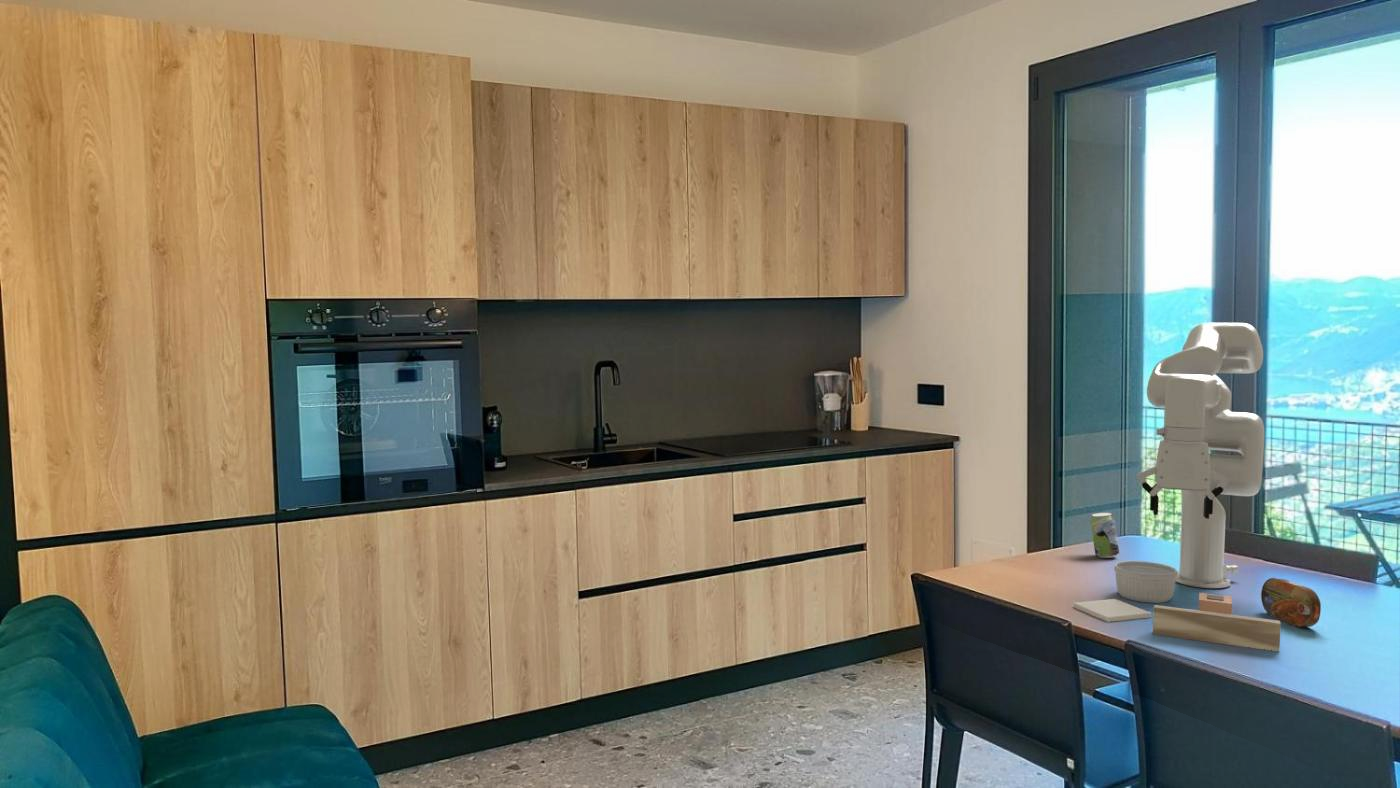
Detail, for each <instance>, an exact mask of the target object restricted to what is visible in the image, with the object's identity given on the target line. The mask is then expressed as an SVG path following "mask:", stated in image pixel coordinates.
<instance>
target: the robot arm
mask: <svg viewBox="0 0 1400 788" xmlns="http://www.w3.org/2000/svg"><path fill="white" fill-rule="evenodd" d="M1263 361H1264V349H1263V345H1262V342H1261V338H1260V335H1259V333H1258V331H1257V329H1256V328H1255V327H1254V326H1253V325H1251V324H1250V323H1246V322H1207V323H1205V322H1204V323H1200V324H1198V325H1196V326H1194V327H1193V328H1192V329H1191V330H1190V331H1189V333H1188V335H1187V338H1186V341H1185V343H1184V344H1183V346H1182V349H1181V351H1179V352H1176V353H1174V354H1172V355H1170V356H1167V357H1165V358H1163V359H1161V360H1160V361H1158V362H1157V363H1156V364H1155V366H1154V367H1153V369H1152V371H1151V374H1150V376H1149V379H1148V382H1147V386H1146V396H1147V400H1148V402H1149V404H1151V406H1153V407H1157V408H1163V409H1164V419H1163V420H1164V421H1163V423H1164V424H1163V427H1161V428H1156V431H1155V432H1156V433H1155V434H1156V436H1160V437H1162V438H1163V439H1161V440H1160V441H1159V444H1158V448H1157V454H1156V455H1157V456H1156V460H1155V461H1156V462H1155V466H1153V467H1151V468H1148V469H1145V470H1143V471H1140V472H1139V473H1137V474H1136V477H1137V480H1138V482H1140V485H1141V487H1142V488H1143V489H1144V490H1145V492H1147V493H1148V494H1149V496H1150V497H1149V498H1150V499H1149V501H1150V503H1149V510H1150V511H1152V513H1153V515H1154V516H1158V515H1159V499H1160V498H1159V495H1158V494H1159V493H1160V491H1162V490H1163V489H1165V490H1177V491H1179V490H1180V492H1181V511H1180V512H1181V514H1180V517H1181V518H1180V519H1181V521H1180V543H1179V545H1180V547H1179V571H1178V570H1177V578H1176V581H1175V583H1178V584H1181V585H1183V586H1184V585H1185V586H1188V587H1195V588H1201V589H1202V588H1203V589H1224V588H1228V587H1229V586H1230V585H1231V580H1230V578H1228V577H1227V575H1229V574H1237V573H1239V571H1240V569H1239V566H1238V565H1236V564H1232V565H1231V564H1230V565H1227V564H1226V563H1224V561H1225V541H1226V540H1225V539H1226V519H1227V517H1226V516H1227V515H1226V511H1225V508H1224V506H1223V505H1222V503H1221V502H1220V501H1219V500H1218V498H1217V497H1218V496H1219V495H1227V496H1237V497H1252V496H1256V495H1257V494H1258V493H1259V491H1260V490H1261V486H1262V481H1263V467H1264V465H1263V464H1264V453H1265V452H1264V449H1265V425H1264V422H1263V420H1262V418H1261V416H1259V415H1258V414H1256V413H1251V412H1245V411H1244V412H1243V411H1241V412H1240V411H1231V406H1232V392H1231V390H1230V388H1229V387H1228V386H1227V384H1226V383H1225V382H1224V381H1223V380H1222V378H1220V377H1219V376H1218V375H1217V374H1218V373H1219V374H1244V375H1245V374H1254V373H1256V372H1258V371H1259V370H1260V369H1261V367H1262V365H1263ZM1210 450H1211V451H1224V452H1225V451H1226V452H1237V453H1239V454H1241V455H1233V454H1232V455H1231V454H1222V453H1221V454H1220V453H1210ZM1153 475H1154V480H1155V484H1154V485H1152V486H1151V485H1150V484H1149V483H1148V482H1147V480H1146V478H1147V477H1151V476H1153Z"/></svg>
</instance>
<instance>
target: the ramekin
mask: <svg viewBox="0 0 1400 788" xmlns="http://www.w3.org/2000/svg"><path fill="white" fill-rule="evenodd" d="M1113 569H1114V572H1115V581H1116V582H1115V583H1116V590H1117V592H1118V593H1119V595H1120V596H1122V597H1123V598H1125V599H1128V600H1130V601H1134V602H1135V601H1136V602H1141V603H1150V604H1151V603H1152V604H1154V603H1155V604H1159V603H1162V604H1163V603H1165V602H1169V601H1170V600H1171V599H1173V597H1174V593H1175V587H1176V578H1177V572H1178V570H1177V569H1176V568H1175V567H1173V566H1171V565H1167V564H1163V563H1158V562H1153V561H1152V562H1151V561H1143V560H1142V561H1141V560H1125V561H1124V560H1123V561H1118V562H1116V563H1114V568H1113Z"/></svg>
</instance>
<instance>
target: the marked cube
mask: <svg viewBox="0 0 1400 788" xmlns="http://www.w3.org/2000/svg"><path fill="white" fill-rule="evenodd" d="M1198 611H1206V612H1214V613H1222V614H1230V615H1233V614H1232V613H1233V599H1232V596H1231V595H1230V596H1229V595H1224V594H1223V595H1221V594H1213V593H1205V592H1199V594H1198Z"/></svg>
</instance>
